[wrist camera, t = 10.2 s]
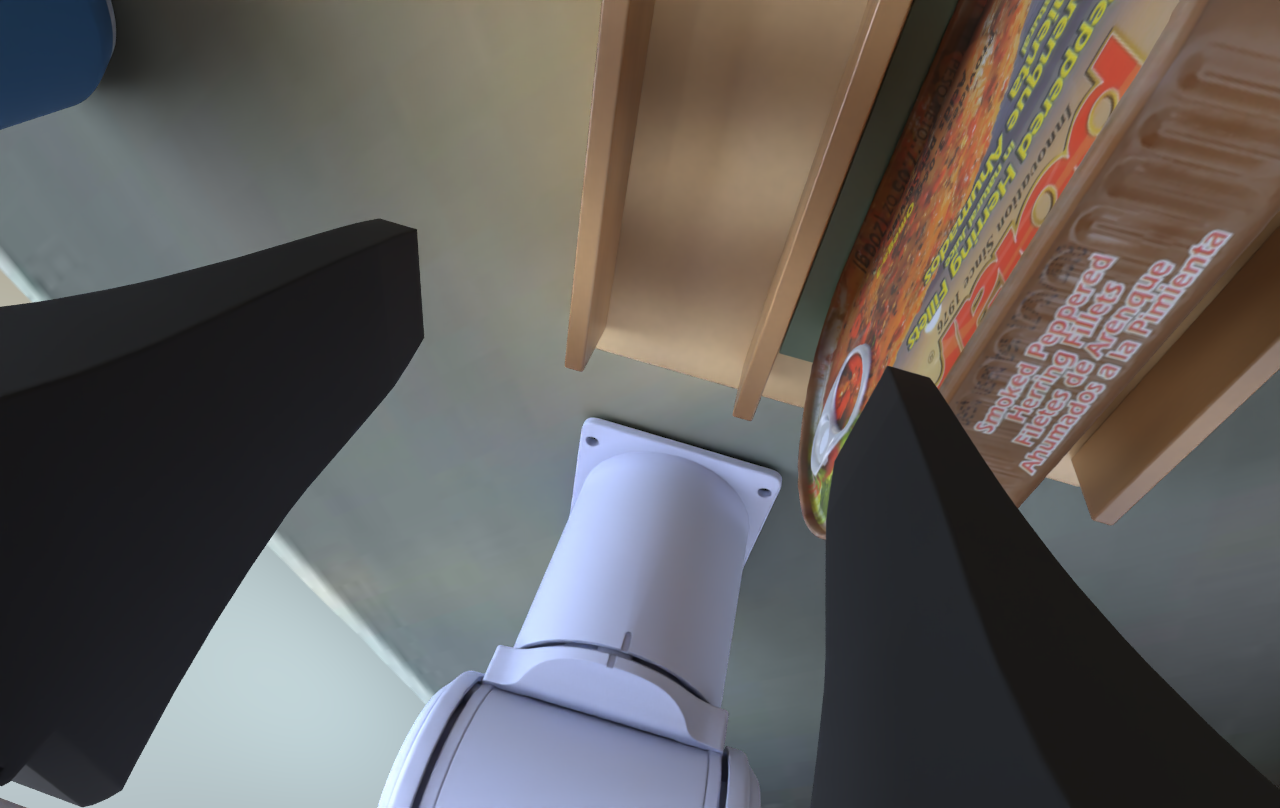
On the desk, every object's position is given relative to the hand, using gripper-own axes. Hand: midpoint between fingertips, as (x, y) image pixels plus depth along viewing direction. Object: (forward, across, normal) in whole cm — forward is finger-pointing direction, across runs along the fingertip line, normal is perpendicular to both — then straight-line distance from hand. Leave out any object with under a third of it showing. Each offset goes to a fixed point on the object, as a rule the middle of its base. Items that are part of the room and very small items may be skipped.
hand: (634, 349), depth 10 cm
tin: (+9, -6, -1) cm, 11 cm away
